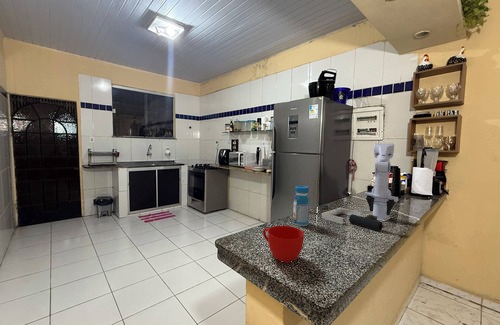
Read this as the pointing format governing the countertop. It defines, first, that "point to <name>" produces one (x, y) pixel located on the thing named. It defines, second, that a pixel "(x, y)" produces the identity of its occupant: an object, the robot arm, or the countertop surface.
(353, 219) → the pipe connector
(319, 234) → the countertop surface
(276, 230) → the ceramic cup
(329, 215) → the aluminium bracket
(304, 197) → the beverage bottle
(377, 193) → the robot arm
